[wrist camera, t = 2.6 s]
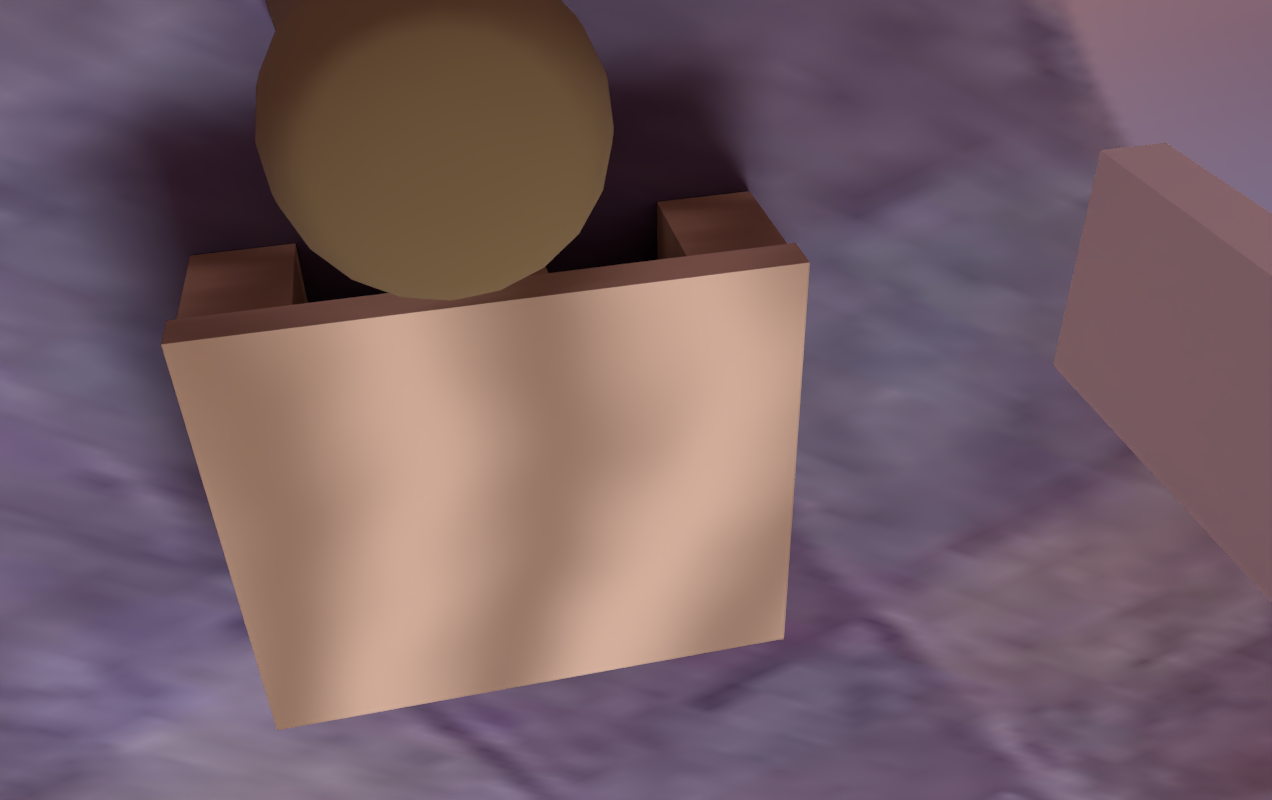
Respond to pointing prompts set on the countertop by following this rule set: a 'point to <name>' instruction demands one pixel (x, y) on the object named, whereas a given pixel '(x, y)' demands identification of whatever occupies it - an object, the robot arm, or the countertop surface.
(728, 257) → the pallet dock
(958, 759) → the countertop surface
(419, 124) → the cork
